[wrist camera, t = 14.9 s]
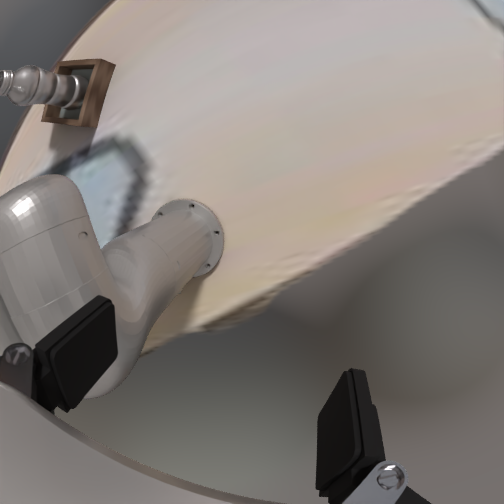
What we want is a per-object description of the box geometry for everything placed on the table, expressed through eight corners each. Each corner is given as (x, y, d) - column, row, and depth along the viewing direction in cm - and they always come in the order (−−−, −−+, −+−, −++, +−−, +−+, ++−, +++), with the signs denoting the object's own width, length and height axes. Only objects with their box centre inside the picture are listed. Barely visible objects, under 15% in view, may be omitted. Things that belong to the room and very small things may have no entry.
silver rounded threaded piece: (92, 71, 36) (11, 50, 18) (97, 101, 38) (9, 87, 19) (68, 88, 38) (-11, 77, 19) (72, 117, 40) (-12, 114, 21)
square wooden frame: (96, 127, 40) (80, 126, 36) (56, 122, 41) (41, 121, 36) (115, 64, 36) (101, 58, 32) (72, 65, 37) (58, 61, 32)
